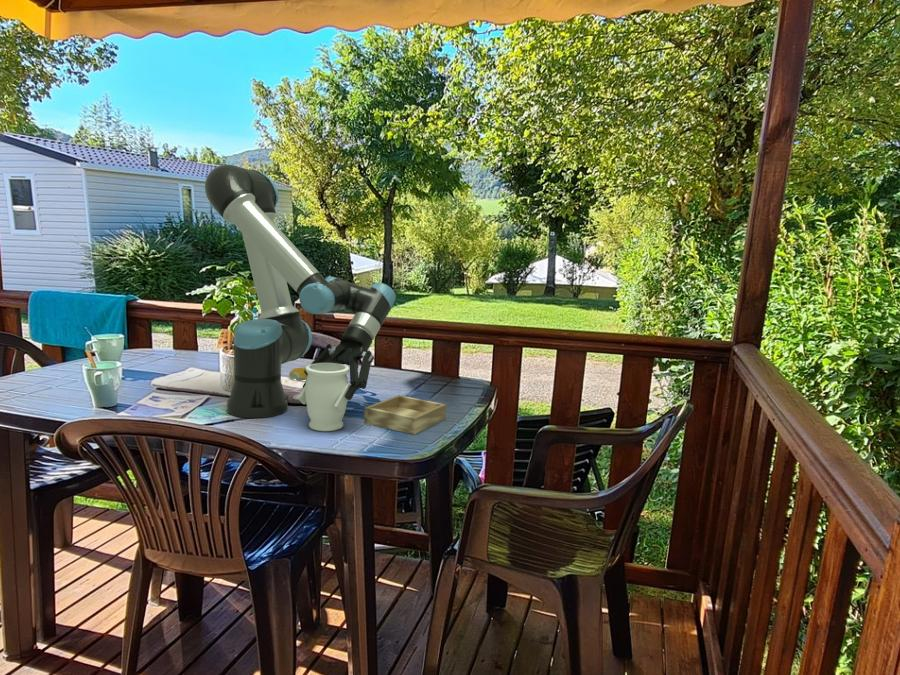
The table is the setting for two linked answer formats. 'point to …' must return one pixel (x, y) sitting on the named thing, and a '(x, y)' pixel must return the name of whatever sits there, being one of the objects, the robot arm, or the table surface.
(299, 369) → the bread roll
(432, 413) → the holder
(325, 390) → the jar
